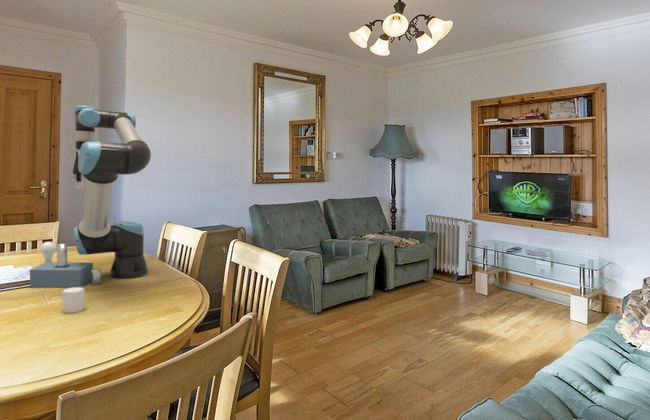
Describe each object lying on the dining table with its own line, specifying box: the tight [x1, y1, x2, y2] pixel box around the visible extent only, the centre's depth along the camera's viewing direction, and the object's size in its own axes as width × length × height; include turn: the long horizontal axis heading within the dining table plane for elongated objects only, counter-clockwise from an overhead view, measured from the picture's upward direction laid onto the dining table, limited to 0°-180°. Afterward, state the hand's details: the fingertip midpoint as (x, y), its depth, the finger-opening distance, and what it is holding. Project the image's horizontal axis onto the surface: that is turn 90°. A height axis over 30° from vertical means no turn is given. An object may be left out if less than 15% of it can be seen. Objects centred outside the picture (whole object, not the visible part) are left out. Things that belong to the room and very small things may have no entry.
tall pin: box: [56, 243, 68, 268], centre depth 164 cm, size 4×4×16 cm
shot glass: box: [60, 286, 86, 314], centre depth 137 cm, size 7×7×7 cm
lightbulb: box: [39, 241, 57, 263], centre depth 189 cm, size 6×6×11 cm
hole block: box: [29, 261, 94, 289], centre depth 164 cm, size 18×12×7 cm, turn 98°
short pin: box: [90, 268, 102, 286], centre depth 165 cm, size 4×4×6 cm
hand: (86, 188), depth 186 cm, fingers open, 13 cm apart
